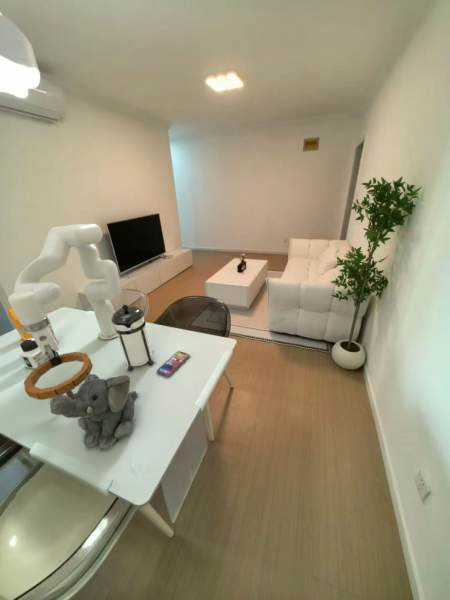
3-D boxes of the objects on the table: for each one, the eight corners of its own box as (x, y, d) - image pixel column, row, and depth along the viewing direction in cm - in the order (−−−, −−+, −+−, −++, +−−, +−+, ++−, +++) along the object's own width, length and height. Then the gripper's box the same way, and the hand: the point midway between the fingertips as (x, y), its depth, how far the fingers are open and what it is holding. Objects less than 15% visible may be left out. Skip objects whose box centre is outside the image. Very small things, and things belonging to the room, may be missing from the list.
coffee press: (164, 354, 111) (152, 299, 98) (139, 376, 99) (121, 316, 85) (139, 345, 119) (124, 293, 106) (113, 364, 106) (93, 308, 93)
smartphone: (156, 372, 100) (178, 352, 112) (169, 377, 97) (190, 356, 108) (156, 370, 100) (178, 350, 111) (168, 375, 96) (190, 354, 108)
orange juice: (21, 338, 131) (4, 308, 122) (39, 330, 138) (24, 301, 129) (27, 342, 127) (10, 311, 118) (45, 334, 134) (30, 304, 125)
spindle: (77, 394, 92) (72, 383, 89) (80, 400, 89) (74, 389, 86) (66, 400, 89) (60, 389, 87) (68, 406, 87) (62, 395, 84)
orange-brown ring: (84, 351, 96) (82, 345, 95) (98, 376, 83) (96, 369, 82) (26, 376, 85) (22, 370, 84) (31, 410, 71) (26, 404, 70)
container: (39, 369, 107) (26, 347, 101) (26, 367, 108) (13, 345, 102) (53, 358, 113) (42, 336, 108) (40, 356, 115) (29, 335, 109)
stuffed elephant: (82, 471, 66) (43, 407, 54) (82, 416, 83) (53, 357, 71) (148, 437, 74) (128, 375, 62) (136, 393, 90) (119, 337, 79)
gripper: (52, 328, 78) (72, 368, 87) (46, 312, 89) (64, 349, 97) (25, 337, 74) (48, 379, 82) (21, 320, 85) (42, 358, 93)
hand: (56, 362), depth 90 cm, fingers closed on orange-brown ring, 2 cm apart
